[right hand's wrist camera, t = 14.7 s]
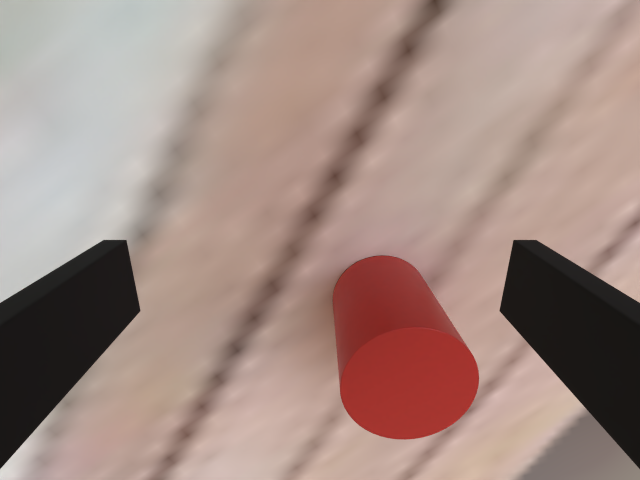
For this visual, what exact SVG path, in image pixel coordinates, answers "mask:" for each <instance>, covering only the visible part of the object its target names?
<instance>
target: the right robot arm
mask: <svg viewBox="0 0 640 480" xmlns="http://www.w3.org/2000/svg"><path fill="white" fill-rule="evenodd" d="M139 312H140V306H139V301H138V296H137V291H136V286H135V281H134V276H133V271H132V266H131V261H130V256H129V251H128V246H127V241H126V240H103V241H101V242H100V243H98V244H96V245H95V246H93V247H92V248H90V249H88V250H87V251H85V252H83V253H82V254H80V255H78V256H77V257H75V258H73V259H72V260H70V261H69V262H67V263H65V264H64V265H62V266H60V267H59V268H57V269H55V270H54V271H52V272H50V273H49V274H47V275H46V276H44V277H42V278H41V279H39V280H37V281H36V282H34V283H32V284H31V285H29V286H27V287H26V288H24V289H23V290H21V291H19V292H18V293H16V294H14V295H13V296H11V297H9V298H8V299H6V300H4V301H3V302H1V303H0V469H1V467H2V466H3V465H4V464H5V463H6V462H7V461H8V460H9V458H10V457H11V456H12V455H13V454H14V453H15V452H16V451H17V449H18V448H19V447H20V446H21V445H22V444H23V443H24V442H25V440H26V439H27V438H28V437H29V436H30V435H31V434H32V433H33V431H34V430H35V429H36V428H37V427H38V426H39V425H40V424H41V422H42V421H43V420H44V419H45V418H46V417H47V416H48V415H49V413H50V412H51V411H52V410H53V409H54V408H55V407H56V405H57V404H58V403H59V402H60V401H61V400H62V399H63V398H64V396H65V395H66V394H67V393H68V392H69V391H70V390H71V389H72V387H73V386H74V385H75V384H76V383H77V382H78V381H79V380H80V378H81V377H82V376H83V375H84V374H85V373H86V372H87V371H88V369H89V368H90V367H91V366H92V365H93V364H94V363H95V362H96V360H97V359H98V358H99V357H100V356H101V355H102V354H103V353H104V351H105V350H106V349H107V348H108V347H109V346H110V345H111V343H112V342H113V341H114V340H115V339H116V338H117V337H118V336H119V334H120V333H121V332H122V331H123V330H124V329H125V328H126V327H127V325H128V324H129V323H130V322H131V321H132V320H133V319H134V318H135V316H136V315H137V314H138V313H139ZM500 312H501V313H502V314H503V315H504V316H505V318H506V319H507V320H508V321H509V322H510V323H511V324H512V325H513V327H514V328H515V329H516V330H517V331H518V332H519V333H520V334H521V336H522V337H523V338H524V339H525V340H526V341H527V342H528V343H529V345H530V346H531V347H532V348H533V349H534V350H535V351H536V353H537V354H538V355H539V356H540V357H541V358H542V359H543V360H544V362H545V363H546V364H547V365H548V366H549V367H550V368H551V369H552V371H553V372H554V373H555V374H556V375H557V376H558V377H559V378H560V380H561V381H562V382H563V383H564V384H565V385H566V386H567V387H568V389H569V390H570V391H571V392H572V393H573V394H574V395H575V396H576V398H577V399H578V400H579V401H580V402H581V403H582V404H583V405H584V407H585V408H586V409H587V410H588V411H589V412H590V413H591V414H592V416H593V417H594V418H595V419H596V420H597V421H598V422H599V423H600V425H601V426H602V427H603V428H604V429H605V430H606V431H607V433H608V434H609V435H610V436H611V437H612V438H613V439H614V440H615V442H616V443H617V444H618V445H619V446H620V447H621V448H622V449H623V451H624V452H625V453H626V454H627V455H628V456H629V457H630V458H631V460H632V461H633V462H634V463H635V464H636V465H637V466H638V467H639V469H640V303H639V302H637V301H636V300H634V299H632V298H631V297H629V296H627V295H626V294H624V293H622V292H621V291H619V290H617V289H616V288H614V287H613V286H611V285H609V284H608V283H606V282H604V281H603V280H601V279H599V278H598V277H596V276H594V275H593V274H591V273H590V272H588V271H586V270H585V269H583V268H581V267H580V266H578V265H576V264H575V263H573V262H571V261H570V260H568V259H567V258H565V257H563V256H562V255H560V254H558V253H557V252H555V251H553V250H552V249H550V248H548V247H547V246H545V245H544V244H542V243H540V242H539V241H537V240H514V241H513V246H512V251H511V256H510V261H509V266H508V271H507V276H506V281H505V286H504V291H503V296H502V301H501V306H500Z"/></svg>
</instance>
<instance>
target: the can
mask: <svg viewBox="0 0 640 480" xmlns="http://www.w3.org/2000/svg"><path fill="white" fill-rule="evenodd" d="M333 309H334V321H335V334H336V346H337V358H338V370H339V382H340V394H341V399H342V402H343V405H344V407H345V409H346V411H347V412H348V414H349V415H350V416H351V418H352V419H353V420H354V421H355V422H356V423H357V424H358V425H360V426H361V427H363V428H364V429H366V430H367V431H369V432H371V433H373V434H376V435H379V436H382V437H386V438H392V439H416V438H422V437H425V436H429V435H432V434H435V433H437V432H440V431H442V430H444V429H446V428H447V427H449V426H450V425H452V424H453V423H455V422H456V421H457V420H458V419H460V418H461V417H462V416H463V415H464V414H465V412H466V411H467V410H468V408H469V407H470V406H471V404H472V402H473V400H474V398H475V396H476V393H477V389H478V384H479V373H478V367H477V363H476V361H475V359H474V356H473V355H472V353H471V352H470V350H469V349H468V347H467V346H466V344H465V343H464V341H463V339H462V338H461V336H460V335H459V333H458V332H457V330H456V329H455V327H454V325H453V324H452V322H451V321H450V319H449V318H448V316H447V315H446V313H445V312H444V310H443V308H442V307H441V305H440V304H439V302H438V301H437V299H436V298H435V296H434V295H433V293H432V291H431V290H430V288H429V287H428V285H427V284H426V282H425V281H424V279H423V278H422V276H421V274H420V273H419V272H418V271H417V269H416V268H415V267H413V266H412V265H411V264H409V263H408V262H406V261H404V260H402V259H399V258H396V257H391V256H373V257H369V258H366V259H363V260H361V261H358V262H356V263H355V264H353V265H352V266H350V267H349V268H348V269H347V270H346V271H345V272H344V273H343V274H342V275H341V277H340V278H339V280H338V282H337V284H336V286H335V289H334V293H333Z"/></svg>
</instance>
